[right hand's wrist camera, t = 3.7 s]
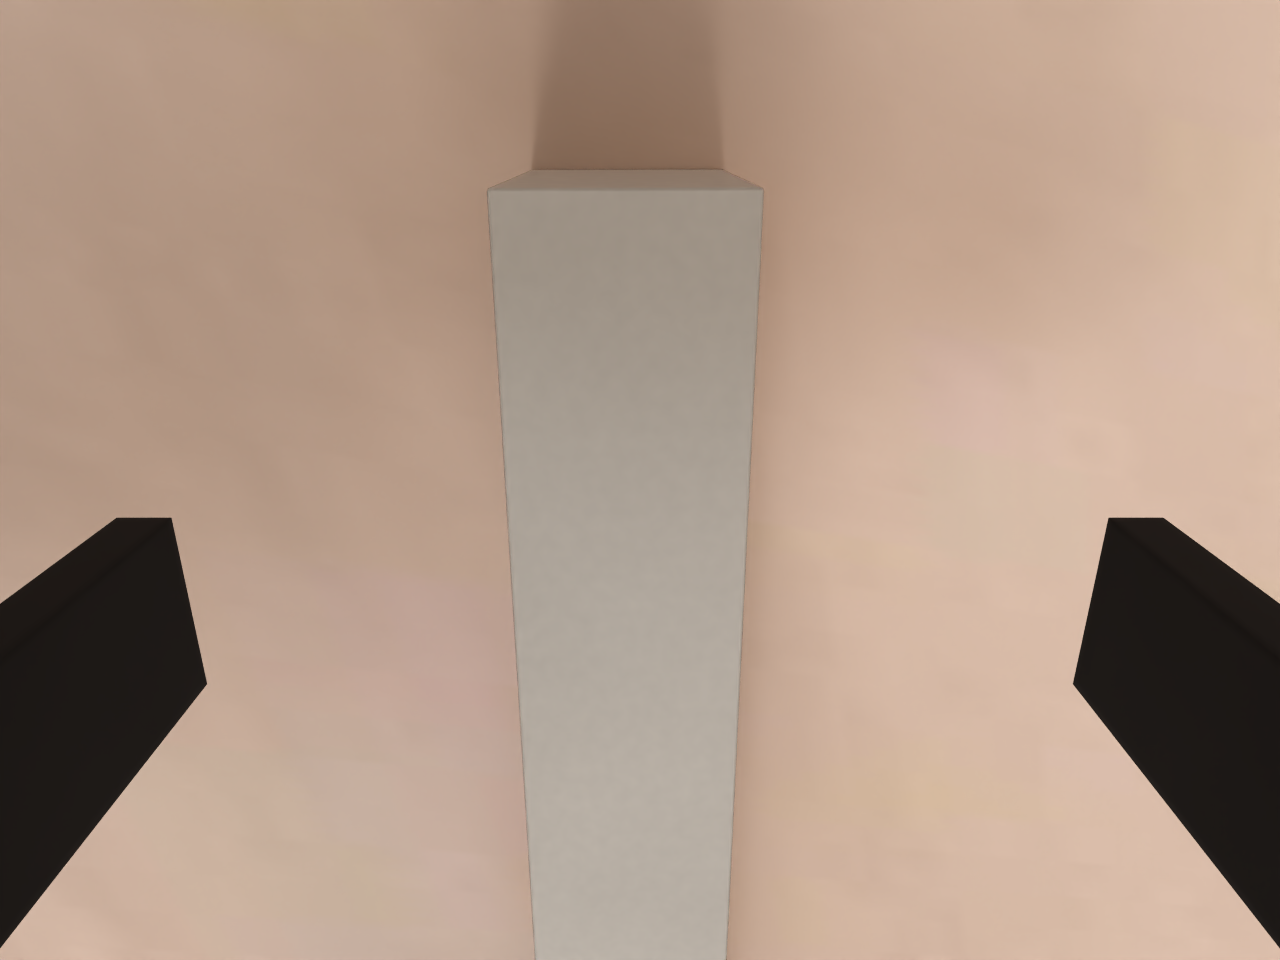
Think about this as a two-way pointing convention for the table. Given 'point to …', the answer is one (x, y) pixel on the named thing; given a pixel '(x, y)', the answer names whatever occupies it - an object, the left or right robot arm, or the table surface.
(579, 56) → the table surface
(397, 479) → the table surface
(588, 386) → the beam
